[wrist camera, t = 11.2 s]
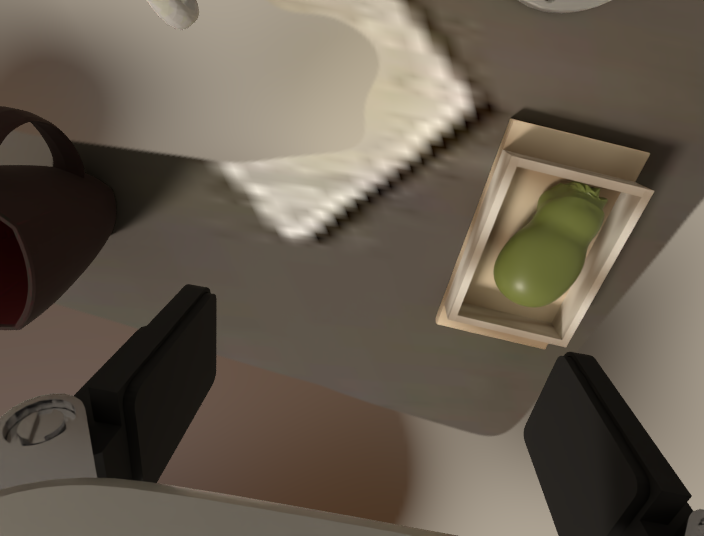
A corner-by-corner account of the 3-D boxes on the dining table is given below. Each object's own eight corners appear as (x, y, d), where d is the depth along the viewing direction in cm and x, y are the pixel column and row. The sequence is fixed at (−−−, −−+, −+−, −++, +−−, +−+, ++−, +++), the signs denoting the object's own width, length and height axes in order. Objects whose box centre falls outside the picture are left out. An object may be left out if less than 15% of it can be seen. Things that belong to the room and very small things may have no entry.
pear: (491, 296, 29) (578, 169, 27) (471, 273, 34) (543, 165, 32) (555, 330, 30) (646, 210, 27) (526, 303, 35) (600, 200, 32)
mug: (28, 234, 38) (-116, 298, 27) (27, 78, 32) (-159, 81, 21) (133, 270, 38) (33, 347, 28) (151, 124, 32) (33, 151, 22)
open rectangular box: (510, 118, 30) (524, 123, 27) (642, 150, 30) (672, 160, 27) (435, 318, 38) (439, 340, 35) (541, 342, 38) (554, 367, 35)
